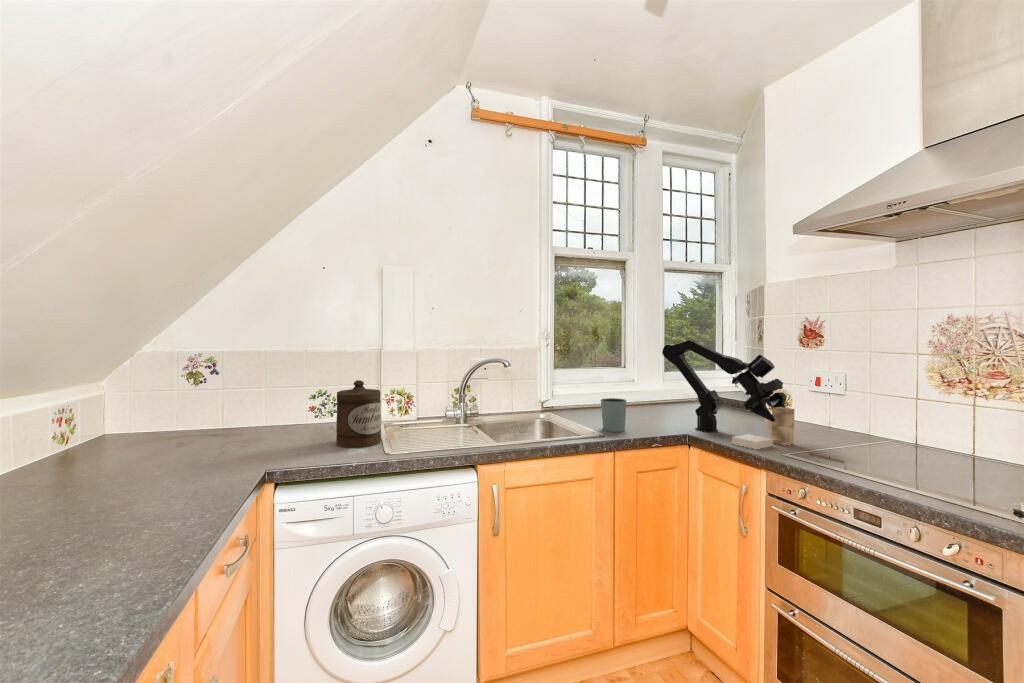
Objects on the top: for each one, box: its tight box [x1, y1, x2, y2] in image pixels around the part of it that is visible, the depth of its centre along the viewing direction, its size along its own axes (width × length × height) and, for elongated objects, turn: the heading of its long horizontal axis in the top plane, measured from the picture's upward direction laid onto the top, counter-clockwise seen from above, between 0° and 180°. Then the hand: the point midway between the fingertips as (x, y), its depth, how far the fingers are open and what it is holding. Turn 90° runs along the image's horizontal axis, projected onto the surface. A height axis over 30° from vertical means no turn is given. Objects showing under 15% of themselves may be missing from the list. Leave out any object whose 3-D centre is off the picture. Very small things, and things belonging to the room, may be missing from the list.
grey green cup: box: [600, 397, 627, 433], centre depth 191 cm, size 10×10×12 cm
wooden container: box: [335, 379, 382, 449], centre depth 167 cm, size 15×15×22 cm
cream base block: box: [731, 433, 774, 450], centre depth 165 cm, size 9×9×3 cm
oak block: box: [771, 407, 795, 446], centre depth 168 cm, size 5×5×12 cm
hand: (781, 419), depth 168 cm, fingers open, 9 cm apart
